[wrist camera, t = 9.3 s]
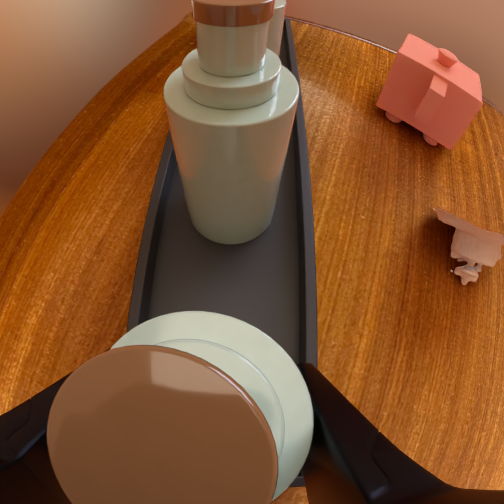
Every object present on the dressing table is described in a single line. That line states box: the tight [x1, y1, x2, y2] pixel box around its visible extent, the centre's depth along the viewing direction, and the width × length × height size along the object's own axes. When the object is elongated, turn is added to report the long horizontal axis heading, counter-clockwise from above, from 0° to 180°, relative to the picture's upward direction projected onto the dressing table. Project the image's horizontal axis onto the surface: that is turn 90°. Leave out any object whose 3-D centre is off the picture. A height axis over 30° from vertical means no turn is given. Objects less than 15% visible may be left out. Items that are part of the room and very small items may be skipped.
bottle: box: [47, 311, 314, 504], centre depth 8 cm, size 5×5×13 cm
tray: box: [126, 18, 317, 487], centre depth 20 cm, size 42×9×2 cm, turn 178°
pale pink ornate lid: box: [432, 207, 504, 285], centre depth 17 cm, size 8×5×8 cm
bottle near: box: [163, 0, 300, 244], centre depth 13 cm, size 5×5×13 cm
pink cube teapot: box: [376, 33, 483, 150], centre depth 21 cm, size 8×12×8 cm, turn 148°
